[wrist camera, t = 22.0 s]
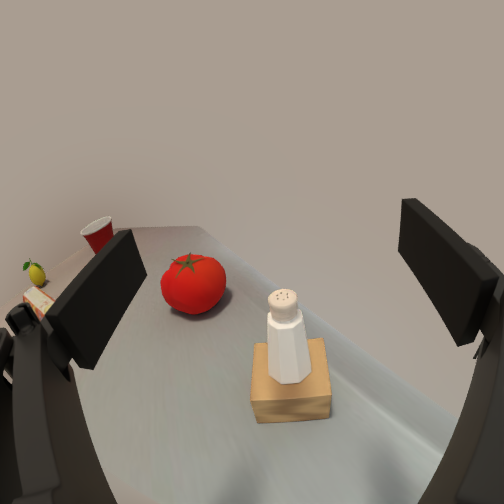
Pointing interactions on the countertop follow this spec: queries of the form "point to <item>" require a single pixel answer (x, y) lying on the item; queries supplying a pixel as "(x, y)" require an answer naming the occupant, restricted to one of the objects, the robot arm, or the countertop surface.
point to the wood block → (291, 389)
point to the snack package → (38, 301)
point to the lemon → (35, 273)
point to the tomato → (193, 283)
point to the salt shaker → (287, 339)
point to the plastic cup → (98, 233)
